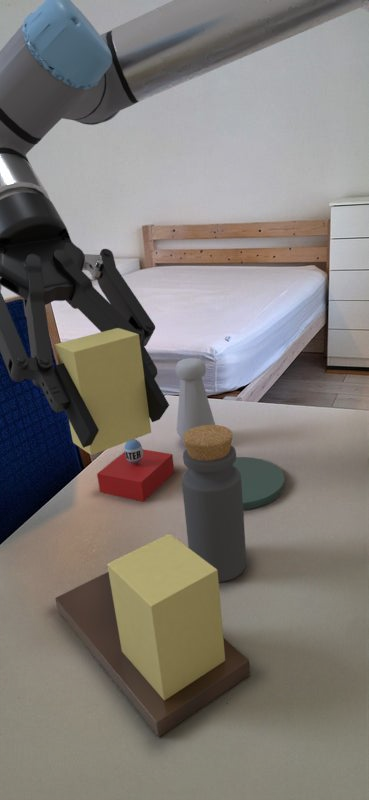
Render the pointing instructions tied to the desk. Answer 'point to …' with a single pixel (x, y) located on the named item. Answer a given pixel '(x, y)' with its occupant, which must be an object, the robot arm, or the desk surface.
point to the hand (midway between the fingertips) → (126, 425)
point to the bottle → (214, 500)
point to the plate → (259, 481)
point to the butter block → (168, 613)
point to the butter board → (99, 632)
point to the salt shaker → (192, 396)
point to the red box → (136, 472)
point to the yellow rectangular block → (109, 385)
